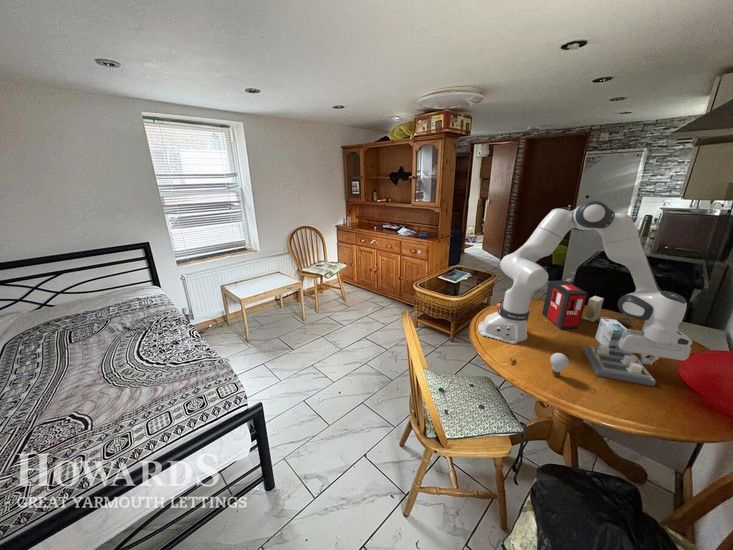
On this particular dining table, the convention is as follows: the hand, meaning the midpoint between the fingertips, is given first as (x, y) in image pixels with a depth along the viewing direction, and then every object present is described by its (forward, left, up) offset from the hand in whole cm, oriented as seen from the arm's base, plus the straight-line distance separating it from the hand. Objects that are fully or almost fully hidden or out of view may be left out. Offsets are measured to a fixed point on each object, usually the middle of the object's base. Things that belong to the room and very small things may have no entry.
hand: (646, 363), depth 113 cm
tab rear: (-12, +5, -2) cm, 13 cm away
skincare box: (-6, +43, -4) cm, 43 cm away
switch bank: (-9, 0, -4) cm, 10 cm away
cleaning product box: (-22, +35, -4) cm, 41 cm away
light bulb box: (-6, +18, -4) cm, 19 cm away
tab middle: (-5, 0, -2) cm, 6 cm away
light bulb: (-33, -13, -4) cm, 36 cm away
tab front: (-5, -5, -2) cm, 7 cm away
